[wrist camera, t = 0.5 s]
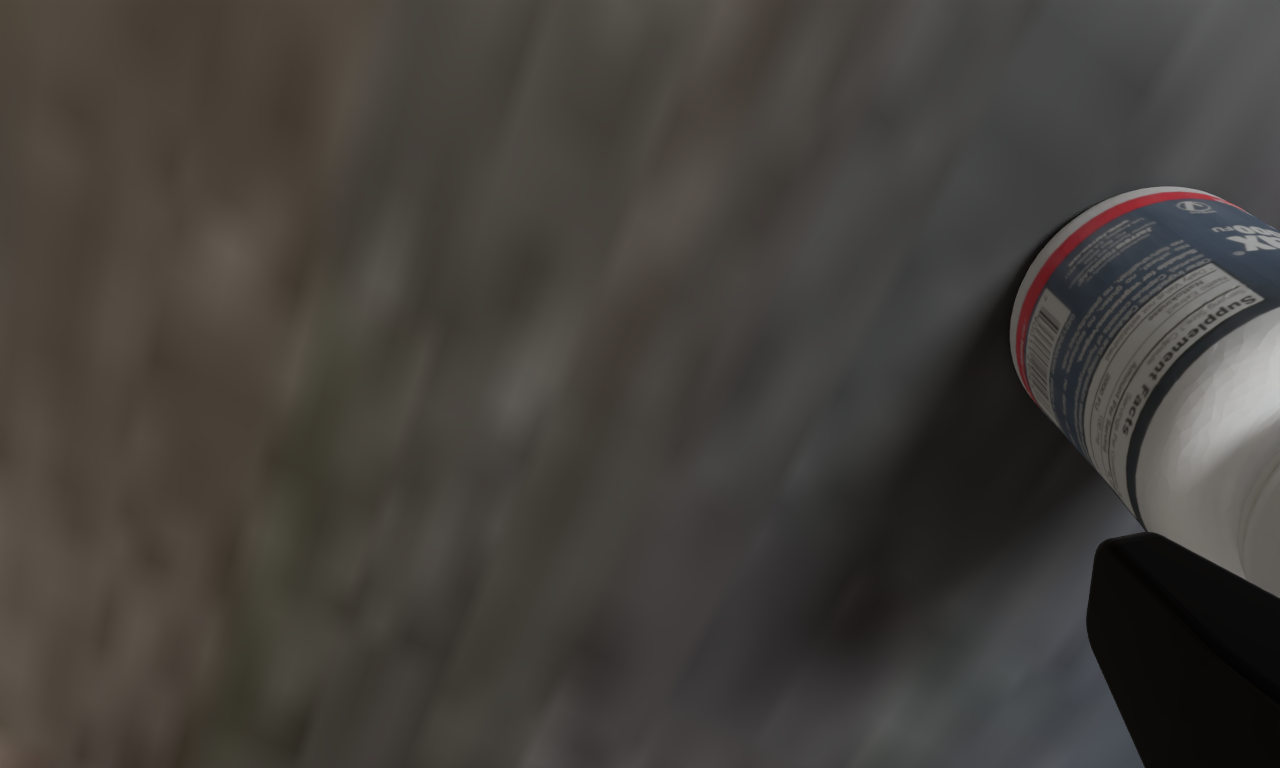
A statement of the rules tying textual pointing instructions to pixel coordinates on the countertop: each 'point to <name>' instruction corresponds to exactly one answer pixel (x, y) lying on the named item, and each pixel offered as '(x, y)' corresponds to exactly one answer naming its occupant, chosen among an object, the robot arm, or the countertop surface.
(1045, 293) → the pill bottle
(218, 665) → the countertop surface
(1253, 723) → the robot arm
